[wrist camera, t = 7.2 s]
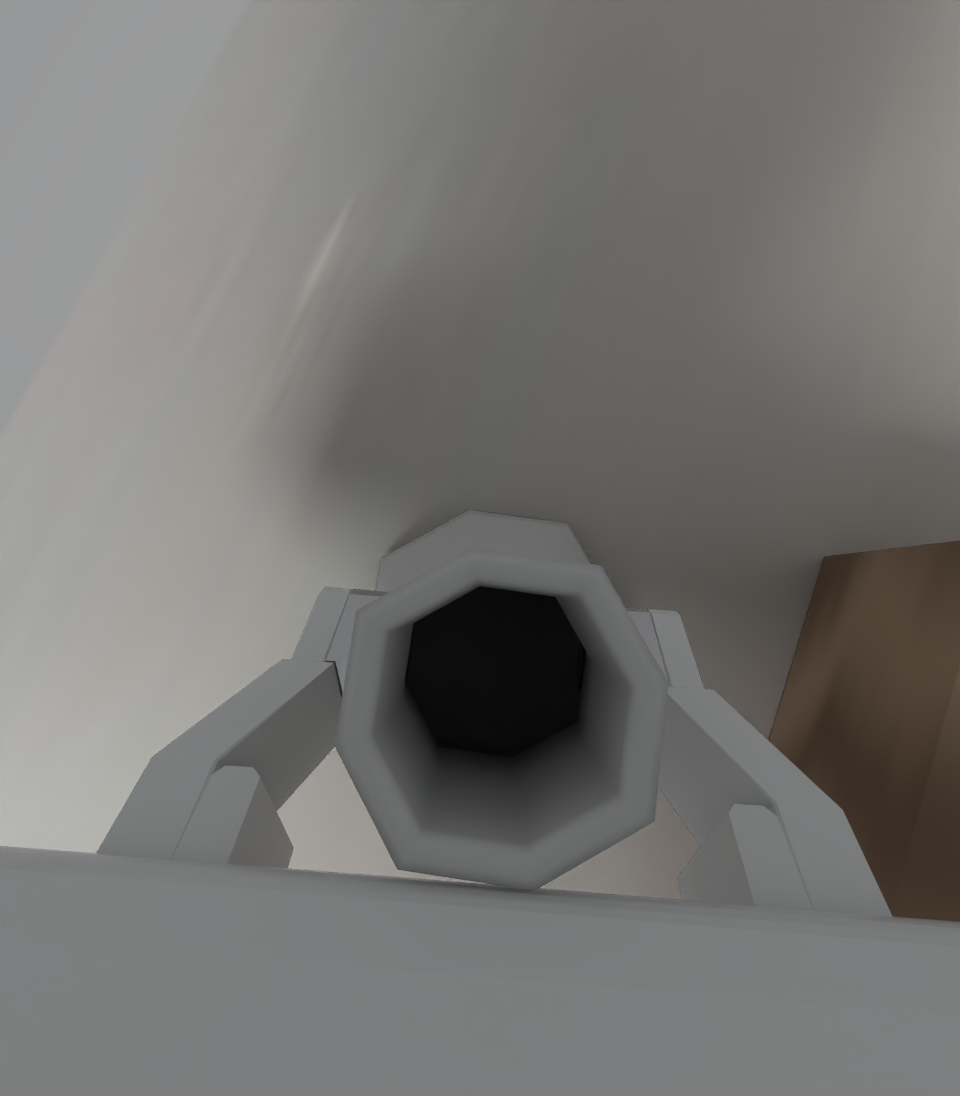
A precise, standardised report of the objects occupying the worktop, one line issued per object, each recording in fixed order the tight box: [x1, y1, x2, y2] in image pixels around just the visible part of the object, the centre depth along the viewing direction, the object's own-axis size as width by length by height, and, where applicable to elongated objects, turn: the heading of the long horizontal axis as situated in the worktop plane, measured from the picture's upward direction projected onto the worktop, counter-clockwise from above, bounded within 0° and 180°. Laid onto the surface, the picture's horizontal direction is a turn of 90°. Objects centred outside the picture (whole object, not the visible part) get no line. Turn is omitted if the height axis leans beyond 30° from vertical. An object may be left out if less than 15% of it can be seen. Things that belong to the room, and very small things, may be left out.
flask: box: [334, 510, 669, 891], centre depth 10 cm, size 7×7×10 cm
